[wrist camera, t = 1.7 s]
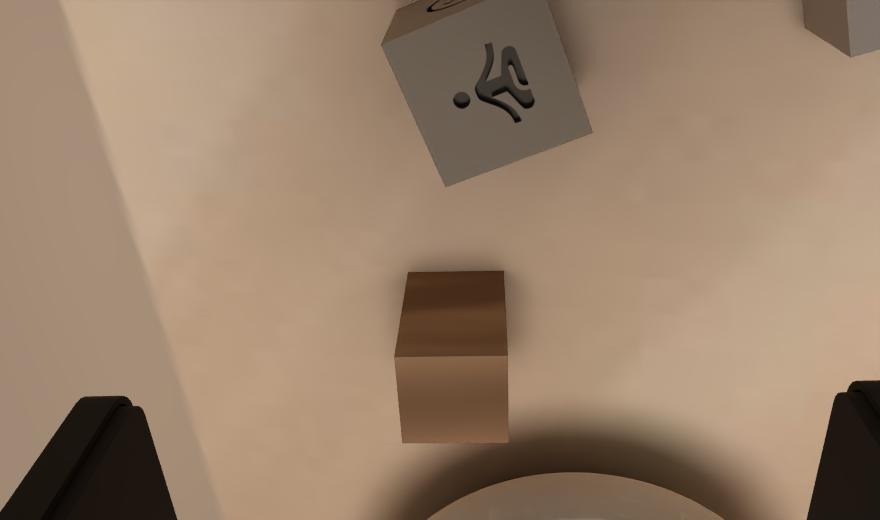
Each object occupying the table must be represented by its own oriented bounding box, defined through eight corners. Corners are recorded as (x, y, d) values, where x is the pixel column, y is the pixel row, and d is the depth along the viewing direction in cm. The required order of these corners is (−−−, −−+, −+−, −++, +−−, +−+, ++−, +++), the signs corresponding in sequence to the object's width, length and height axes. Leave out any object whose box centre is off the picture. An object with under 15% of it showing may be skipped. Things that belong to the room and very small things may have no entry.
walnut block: (408, 272, 33) (394, 357, 28) (503, 270, 33) (507, 355, 28) (414, 350, 35) (402, 443, 30) (504, 349, 35) (508, 442, 30)
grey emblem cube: (575, 85, 29) (592, 132, 25) (450, 134, 30) (445, 187, 26) (529, -48, 27) (539, -23, 23) (396, 9, 28) (381, 44, 24)
